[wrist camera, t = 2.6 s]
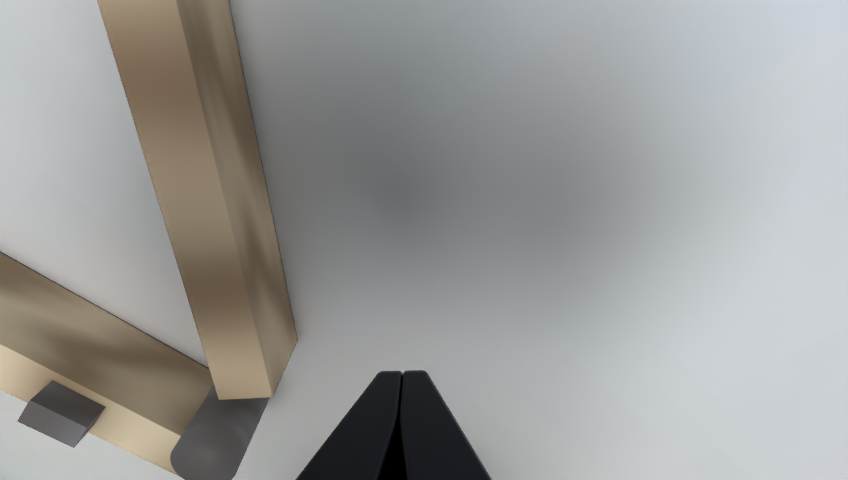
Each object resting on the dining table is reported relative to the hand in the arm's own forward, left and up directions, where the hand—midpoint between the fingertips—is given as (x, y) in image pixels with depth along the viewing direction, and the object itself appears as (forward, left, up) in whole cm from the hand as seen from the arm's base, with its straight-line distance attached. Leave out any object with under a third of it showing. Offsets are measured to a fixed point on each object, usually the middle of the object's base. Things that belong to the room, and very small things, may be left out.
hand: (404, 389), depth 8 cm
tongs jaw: (+4, +8, -10) cm, 13 cm away
